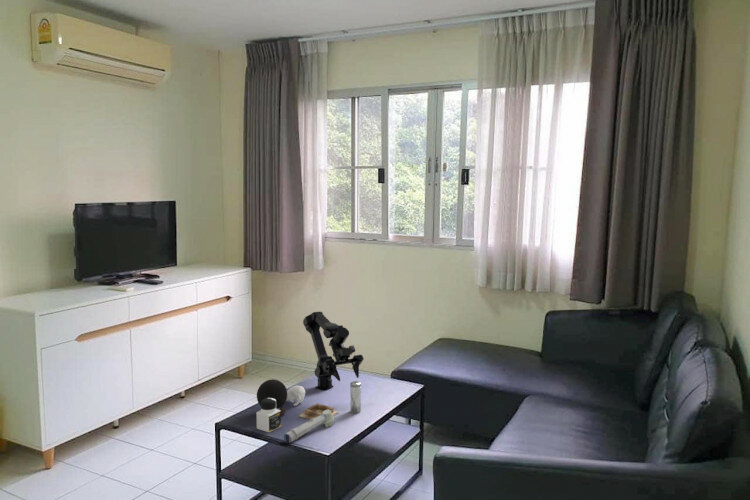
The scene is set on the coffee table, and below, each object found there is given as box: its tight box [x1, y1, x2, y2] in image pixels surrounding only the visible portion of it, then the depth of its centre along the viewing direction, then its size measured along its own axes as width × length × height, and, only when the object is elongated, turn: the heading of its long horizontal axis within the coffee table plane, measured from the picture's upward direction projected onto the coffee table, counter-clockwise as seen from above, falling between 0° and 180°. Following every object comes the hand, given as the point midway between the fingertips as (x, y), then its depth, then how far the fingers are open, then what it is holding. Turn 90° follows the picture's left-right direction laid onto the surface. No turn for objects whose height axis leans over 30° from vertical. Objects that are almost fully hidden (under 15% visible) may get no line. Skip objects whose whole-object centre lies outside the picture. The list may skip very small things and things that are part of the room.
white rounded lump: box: [286, 385, 306, 407], centre depth 248 cm, size 6×8×12 cm
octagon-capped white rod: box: [283, 410, 335, 444], centre depth 218 cm, size 5×7×25 cm
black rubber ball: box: [256, 379, 288, 418], centre depth 236 cm, size 13×13×15 cm
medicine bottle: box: [256, 398, 282, 433], centre depth 221 cm, size 7×7×12 cm
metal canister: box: [349, 380, 362, 414], centre depth 239 cm, size 5×5×13 cm
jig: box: [299, 402, 339, 421], centre depth 235 cm, size 12×12×3 cm
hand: (349, 379), depth 244 cm, fingers open, 9 cm apart
